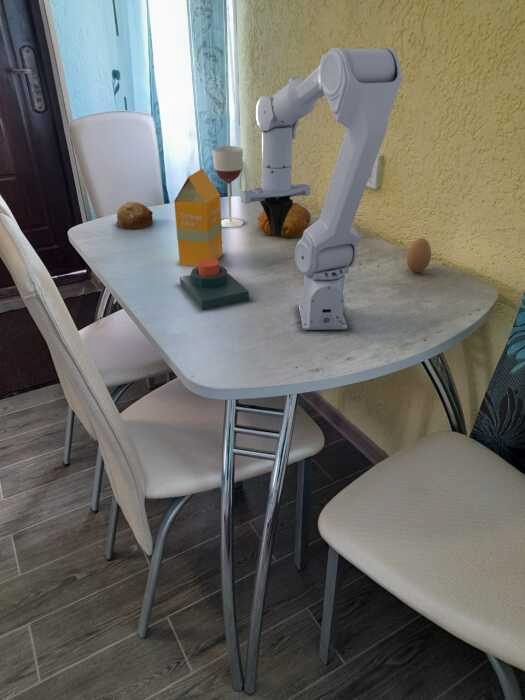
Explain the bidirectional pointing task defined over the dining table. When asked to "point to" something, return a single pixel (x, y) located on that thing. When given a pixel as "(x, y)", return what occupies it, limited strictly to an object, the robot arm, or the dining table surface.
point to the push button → (208, 267)
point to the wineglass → (228, 173)
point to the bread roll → (134, 215)
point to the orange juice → (198, 220)
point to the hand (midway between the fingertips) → (275, 234)
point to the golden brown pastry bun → (288, 221)
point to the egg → (418, 255)
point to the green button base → (213, 289)
